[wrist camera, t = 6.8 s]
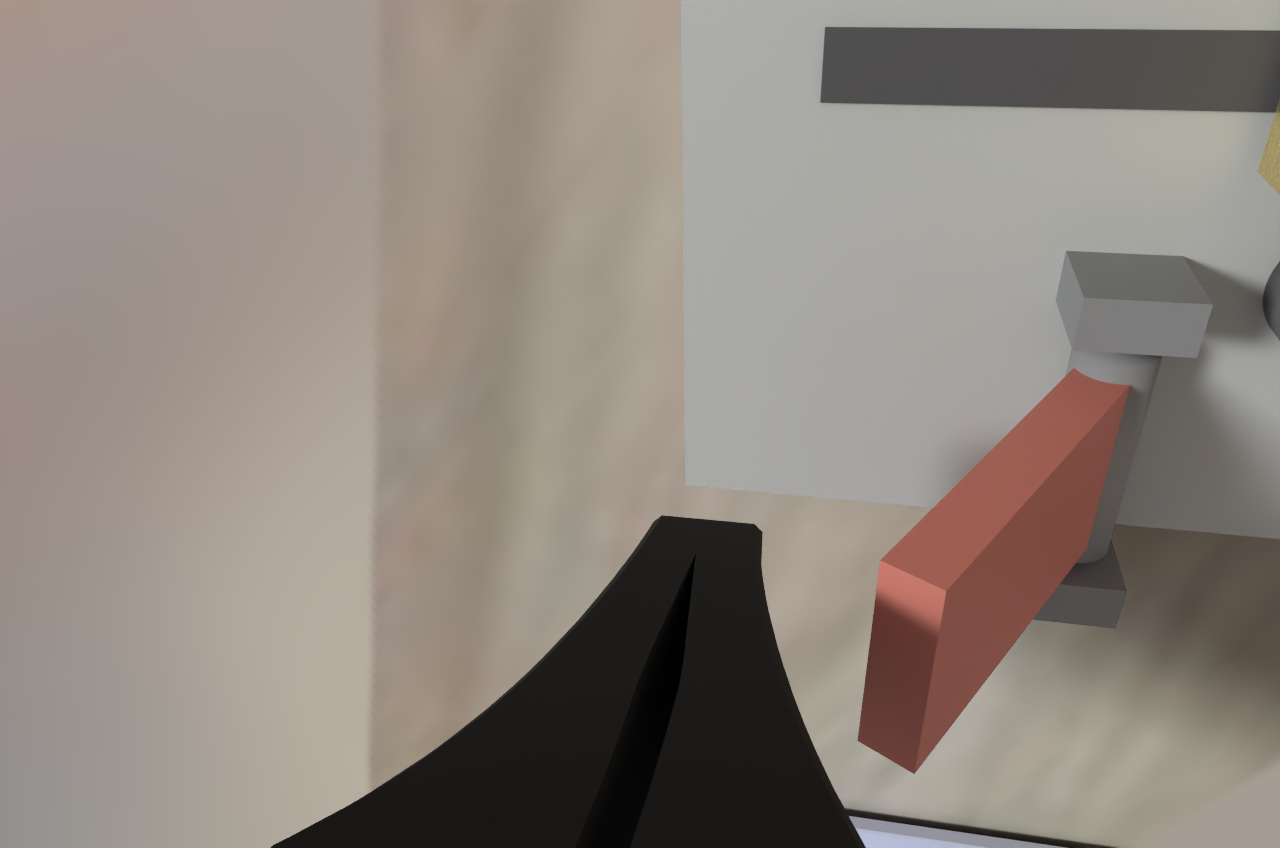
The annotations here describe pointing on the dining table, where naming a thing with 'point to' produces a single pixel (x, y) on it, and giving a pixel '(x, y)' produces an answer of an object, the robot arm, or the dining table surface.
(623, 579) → the robot arm
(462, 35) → the dining table surface
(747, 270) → the panel
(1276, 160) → the brass slider
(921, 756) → the red paddle
